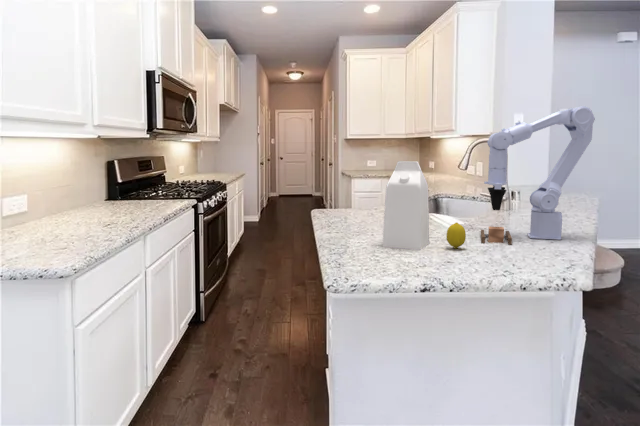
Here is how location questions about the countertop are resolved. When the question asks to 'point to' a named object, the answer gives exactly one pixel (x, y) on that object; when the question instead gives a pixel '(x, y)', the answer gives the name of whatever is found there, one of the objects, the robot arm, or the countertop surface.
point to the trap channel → (507, 236)
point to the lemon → (456, 235)
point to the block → (496, 234)
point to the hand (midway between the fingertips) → (495, 209)
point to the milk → (406, 208)
